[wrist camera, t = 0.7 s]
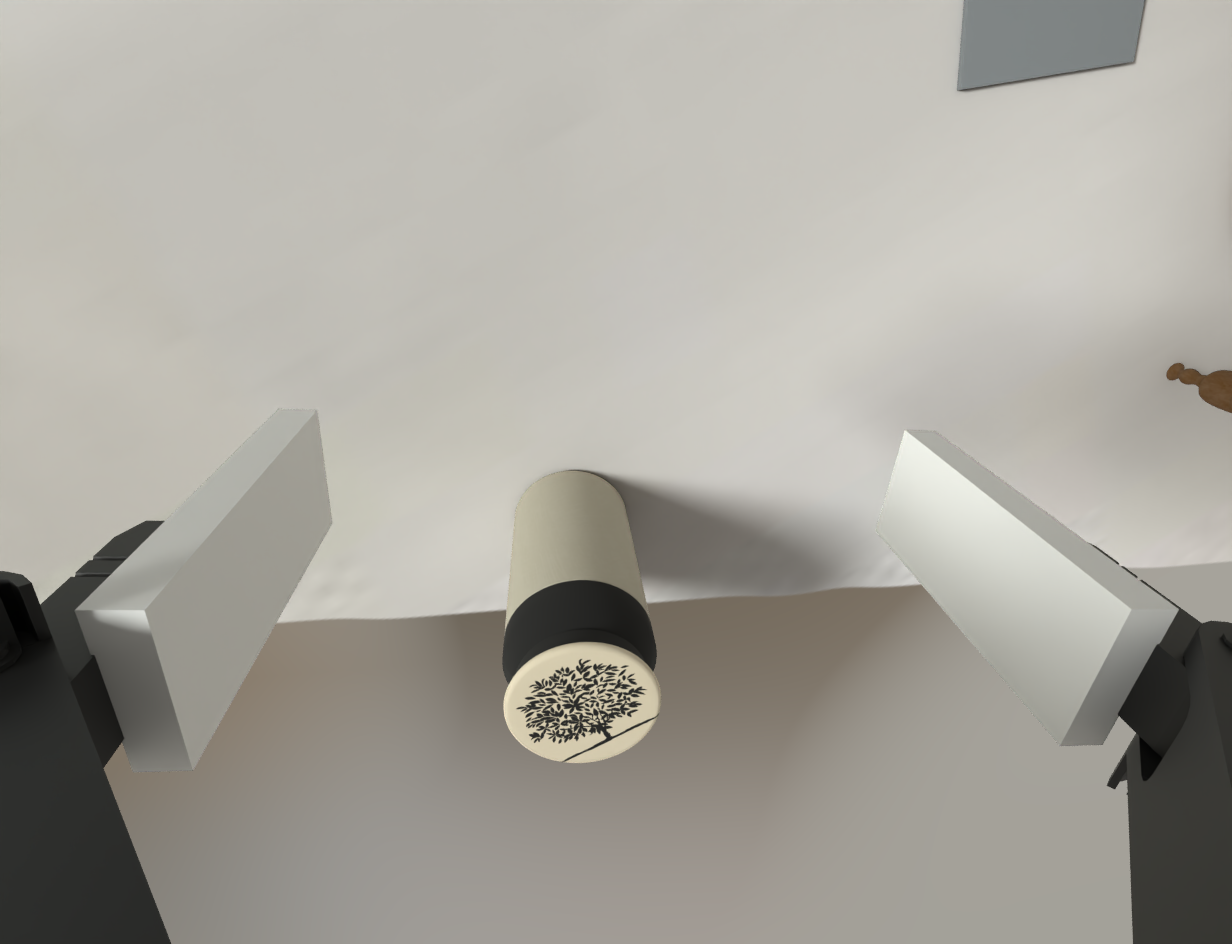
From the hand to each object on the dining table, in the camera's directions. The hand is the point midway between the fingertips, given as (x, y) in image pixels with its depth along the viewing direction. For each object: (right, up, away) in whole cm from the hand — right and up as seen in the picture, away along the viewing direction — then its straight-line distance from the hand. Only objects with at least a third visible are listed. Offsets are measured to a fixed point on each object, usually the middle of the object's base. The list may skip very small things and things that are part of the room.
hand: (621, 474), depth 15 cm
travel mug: (-3, -3, +32) cm, 33 cm away
